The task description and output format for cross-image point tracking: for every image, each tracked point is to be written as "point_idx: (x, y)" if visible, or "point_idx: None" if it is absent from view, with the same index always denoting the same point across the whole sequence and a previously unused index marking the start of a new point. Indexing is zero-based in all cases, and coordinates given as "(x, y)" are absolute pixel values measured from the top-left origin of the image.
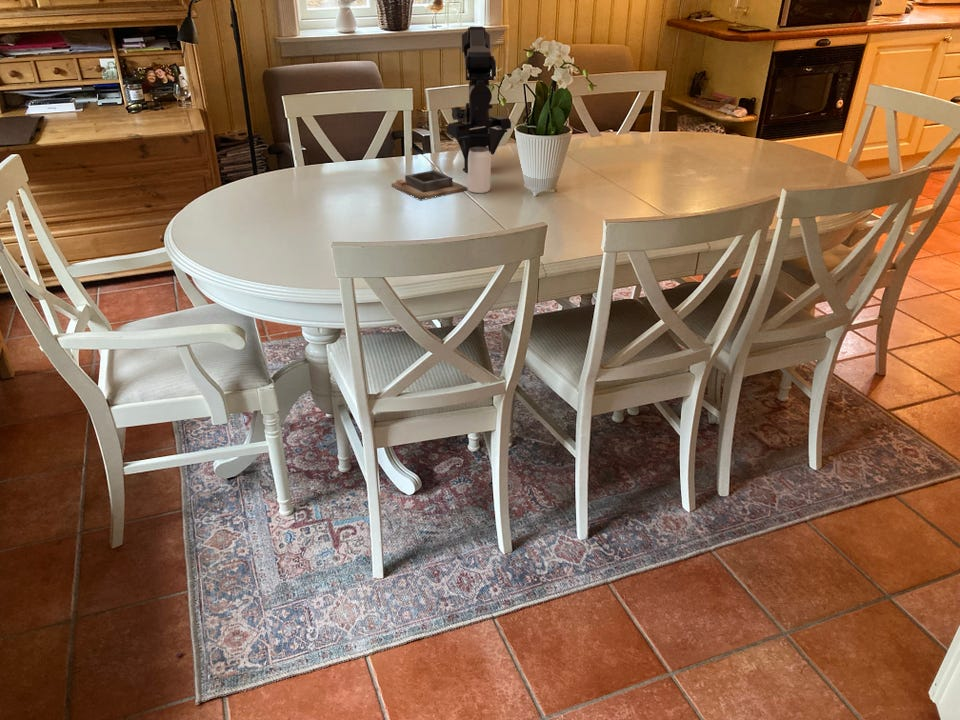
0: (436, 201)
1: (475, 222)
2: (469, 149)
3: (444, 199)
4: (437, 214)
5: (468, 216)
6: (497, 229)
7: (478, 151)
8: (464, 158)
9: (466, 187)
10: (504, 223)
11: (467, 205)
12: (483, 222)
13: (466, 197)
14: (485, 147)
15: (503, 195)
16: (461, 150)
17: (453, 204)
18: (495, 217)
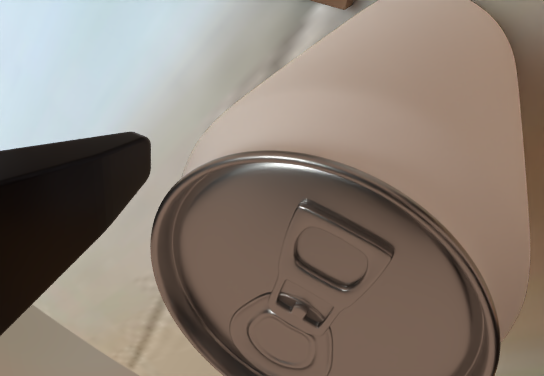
0: (77, 7)
1: (91, 289)
2: (170, 190)
3: (126, 19)
4: (17, 140)
5: (99, 248)
6: (112, 357)
7: (248, 313)
8: (130, 136)
9: (341, 7)
10: (155, 363)
11: (165, 182)
12: (110, 310)
13: None
14: (485, 369)
15: None
16: (11, 151)
17: (123, 118)
18: (166, 327)
